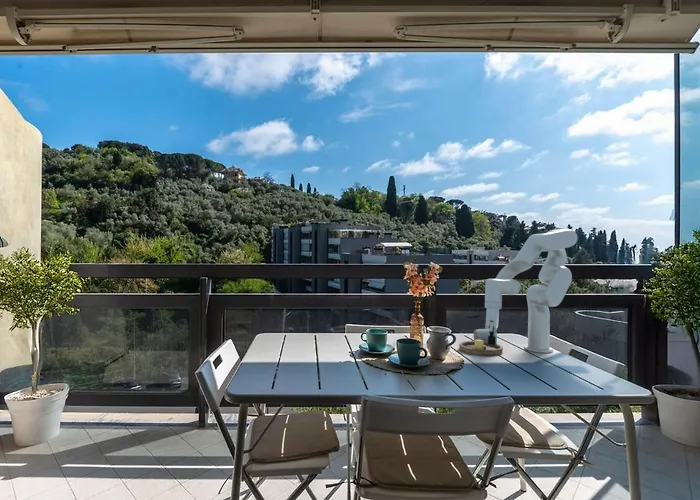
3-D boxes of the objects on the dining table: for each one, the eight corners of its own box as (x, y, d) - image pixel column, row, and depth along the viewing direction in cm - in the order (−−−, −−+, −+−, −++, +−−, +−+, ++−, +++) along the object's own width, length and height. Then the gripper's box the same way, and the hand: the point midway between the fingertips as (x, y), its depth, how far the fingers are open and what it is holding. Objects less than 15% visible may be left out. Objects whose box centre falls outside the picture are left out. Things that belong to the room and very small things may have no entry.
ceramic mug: (472, 341, 217) (473, 327, 217) (488, 342, 216) (488, 327, 216) (477, 346, 206) (477, 331, 206) (494, 347, 206) (494, 331, 206)
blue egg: (488, 342, 197) (488, 332, 197) (497, 343, 196) (497, 333, 196) (487, 344, 194) (487, 333, 194) (496, 345, 192) (496, 334, 192)
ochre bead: (473, 351, 191) (474, 340, 191) (475, 349, 195) (475, 339, 195) (482, 352, 190) (483, 341, 190) (484, 350, 193) (484, 340, 193)
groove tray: (463, 344, 210) (463, 339, 210) (504, 348, 202) (504, 343, 202) (456, 352, 193) (456, 347, 193) (500, 358, 184) (500, 352, 184)
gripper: (487, 302, 204) (486, 339, 204) (482, 306, 189) (481, 346, 189) (503, 303, 201) (502, 341, 201) (499, 307, 186) (498, 348, 186)
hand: (492, 343), depth 195 cm, fingers closed on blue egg, 3 cm apart
